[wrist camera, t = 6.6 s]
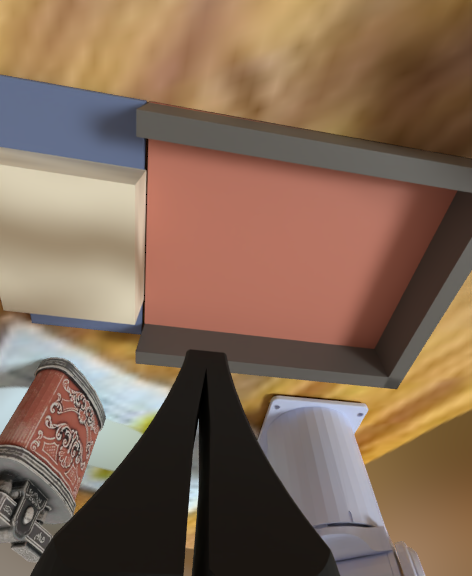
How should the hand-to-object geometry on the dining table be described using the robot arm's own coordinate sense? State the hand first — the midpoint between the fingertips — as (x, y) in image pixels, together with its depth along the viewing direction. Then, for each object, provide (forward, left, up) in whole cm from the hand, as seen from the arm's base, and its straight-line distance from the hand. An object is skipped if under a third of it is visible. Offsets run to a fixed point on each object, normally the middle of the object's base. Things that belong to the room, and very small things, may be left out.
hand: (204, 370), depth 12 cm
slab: (0, +7, -9) cm, 12 cm away
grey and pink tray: (0, -5, -9) cm, 10 cm away
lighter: (-14, +9, -10) cm, 19 cm away
